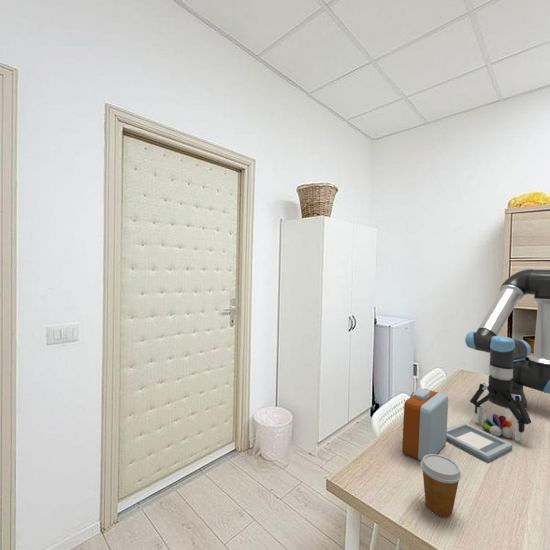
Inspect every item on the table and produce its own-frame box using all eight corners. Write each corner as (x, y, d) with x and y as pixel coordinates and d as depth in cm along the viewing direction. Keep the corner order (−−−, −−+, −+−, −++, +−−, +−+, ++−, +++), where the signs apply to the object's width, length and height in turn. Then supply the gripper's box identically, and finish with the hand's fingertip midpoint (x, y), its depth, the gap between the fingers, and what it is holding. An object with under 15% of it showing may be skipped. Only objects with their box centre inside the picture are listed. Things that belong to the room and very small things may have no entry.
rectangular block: (421, 434, 119) (424, 381, 118) (446, 444, 112) (449, 388, 112) (401, 454, 106) (403, 394, 105) (428, 466, 99) (431, 403, 99)
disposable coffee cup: (442, 493, 88) (444, 451, 87) (468, 520, 78) (470, 474, 78) (411, 496, 86) (413, 454, 86) (434, 524, 77) (436, 477, 76)
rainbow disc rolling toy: (517, 441, 116) (518, 422, 116) (488, 437, 118) (489, 418, 118) (505, 429, 124) (506, 411, 124) (478, 426, 126) (479, 408, 126)
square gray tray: (463, 427, 125) (463, 422, 125) (512, 450, 110) (512, 444, 110) (438, 437, 117) (439, 431, 117) (487, 463, 102) (488, 456, 102)
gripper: (462, 368, 129) (459, 418, 130) (535, 390, 108) (531, 450, 108) (472, 366, 133) (470, 414, 134) (544, 386, 111) (541, 444, 112)
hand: (497, 430), depth 121 cm, fingers open, 13 cm apart
